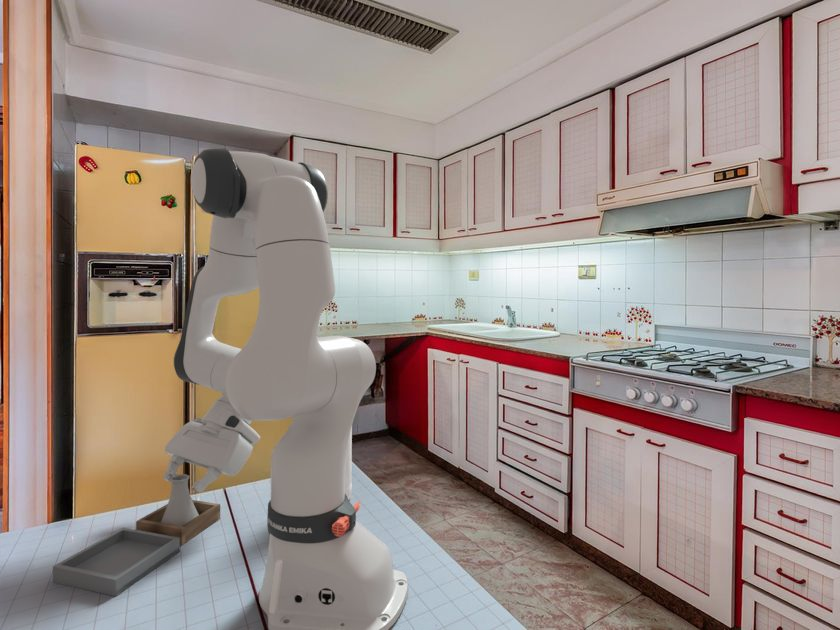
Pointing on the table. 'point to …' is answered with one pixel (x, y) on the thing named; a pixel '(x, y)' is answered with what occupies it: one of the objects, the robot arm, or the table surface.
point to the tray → (116, 561)
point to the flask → (179, 503)
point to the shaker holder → (189, 530)
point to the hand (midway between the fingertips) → (181, 485)
